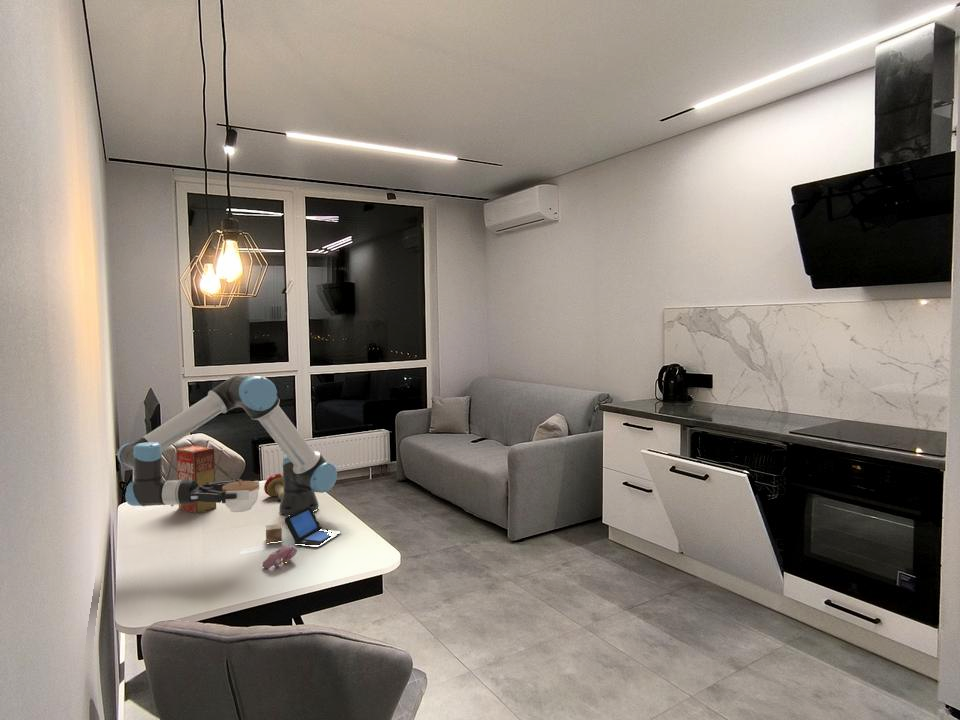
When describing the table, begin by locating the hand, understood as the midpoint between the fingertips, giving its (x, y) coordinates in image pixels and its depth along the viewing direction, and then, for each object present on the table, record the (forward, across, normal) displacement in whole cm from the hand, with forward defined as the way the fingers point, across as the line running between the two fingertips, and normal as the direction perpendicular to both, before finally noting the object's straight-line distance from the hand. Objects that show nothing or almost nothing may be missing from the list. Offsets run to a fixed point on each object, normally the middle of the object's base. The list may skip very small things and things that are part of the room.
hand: (253, 489), depth 186 cm
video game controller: (+9, +7, -22) cm, 25 cm away
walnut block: (+2, -15, -22) cm, 27 cm away
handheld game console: (+15, -15, -22) cm, 31 cm away
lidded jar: (-4, 0, -6) cm, 8 cm away
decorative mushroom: (-10, -69, -22) cm, 73 cm away
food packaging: (-39, -58, -22) cm, 73 cm away
